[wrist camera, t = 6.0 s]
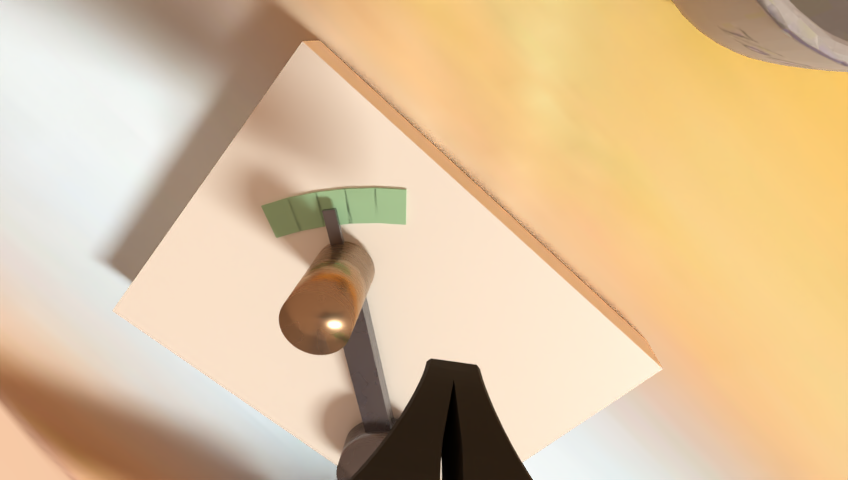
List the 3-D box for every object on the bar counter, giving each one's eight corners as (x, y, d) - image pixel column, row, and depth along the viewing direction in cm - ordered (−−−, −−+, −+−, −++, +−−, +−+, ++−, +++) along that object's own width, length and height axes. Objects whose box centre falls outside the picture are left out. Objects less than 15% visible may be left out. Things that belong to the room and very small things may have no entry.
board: (428, 493, 27) (425, 528, 25) (140, 288, 23) (110, 311, 21) (646, 340, 22) (664, 370, 20) (319, 40, 18) (301, 41, 16)
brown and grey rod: (440, 483, 23) (435, 567, 20) (354, 485, 24) (333, 567, 20) (387, 201, 18) (364, 245, 14) (276, 213, 18) (227, 259, 15)
